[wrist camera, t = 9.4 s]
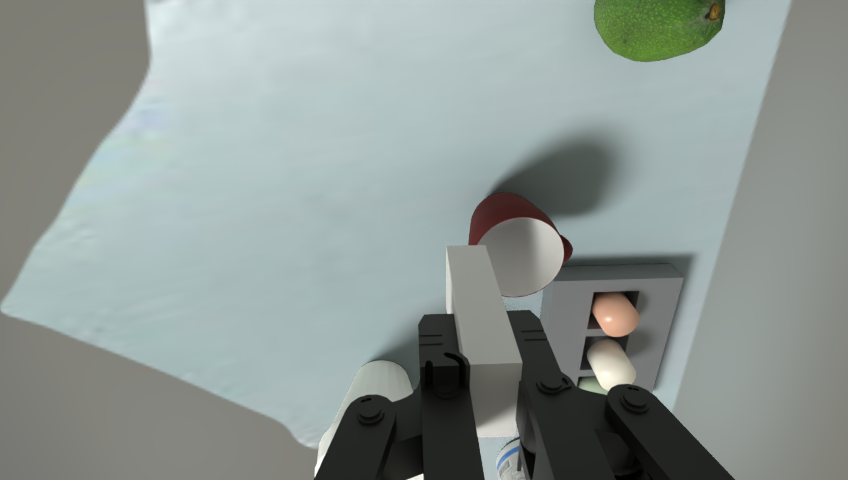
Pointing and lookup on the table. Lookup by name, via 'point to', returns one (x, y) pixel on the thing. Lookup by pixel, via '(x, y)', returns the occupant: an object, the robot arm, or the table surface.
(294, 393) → the table surface
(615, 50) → the fruit
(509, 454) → the supplement tub
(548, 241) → the mug
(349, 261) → the table surface
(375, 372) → the cup
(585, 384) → the button sage
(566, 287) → the button panel
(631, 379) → the button cream
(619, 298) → the button terracotta
